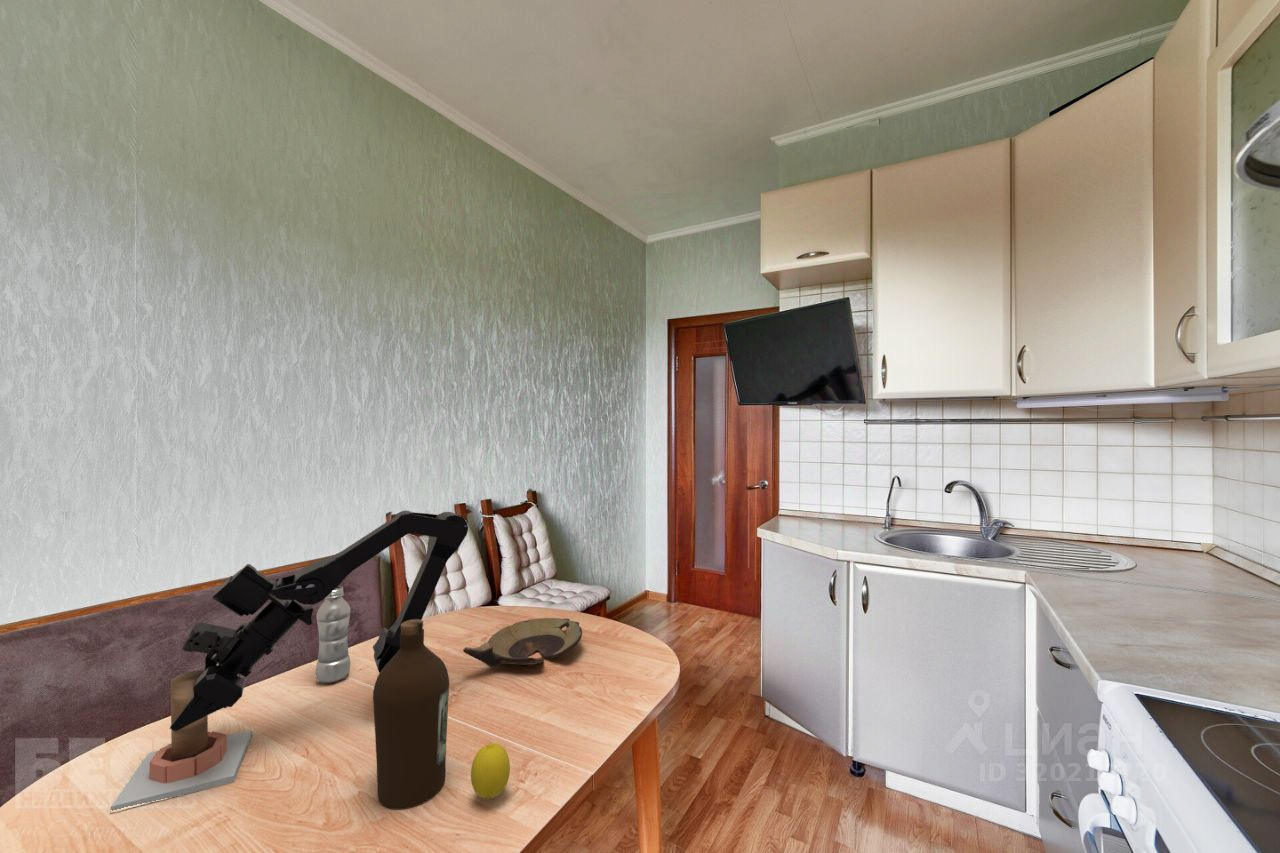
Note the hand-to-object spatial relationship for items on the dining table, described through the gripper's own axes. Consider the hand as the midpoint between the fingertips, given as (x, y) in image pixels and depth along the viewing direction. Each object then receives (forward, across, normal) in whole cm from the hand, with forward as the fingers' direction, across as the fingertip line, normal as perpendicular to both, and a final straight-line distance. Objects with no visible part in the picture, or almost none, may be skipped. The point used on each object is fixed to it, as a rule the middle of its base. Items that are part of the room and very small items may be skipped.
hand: (178, 716), depth 82 cm
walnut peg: (+5, 0, +7) cm, 8 cm away
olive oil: (-15, +25, +28) cm, 40 cm away
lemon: (-21, +34, +35) cm, 53 cm away
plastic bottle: (-9, -22, +22) cm, 33 cm away
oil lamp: (-36, -9, +50) cm, 63 cm away
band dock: (+5, 0, +7) cm, 9 cm away
